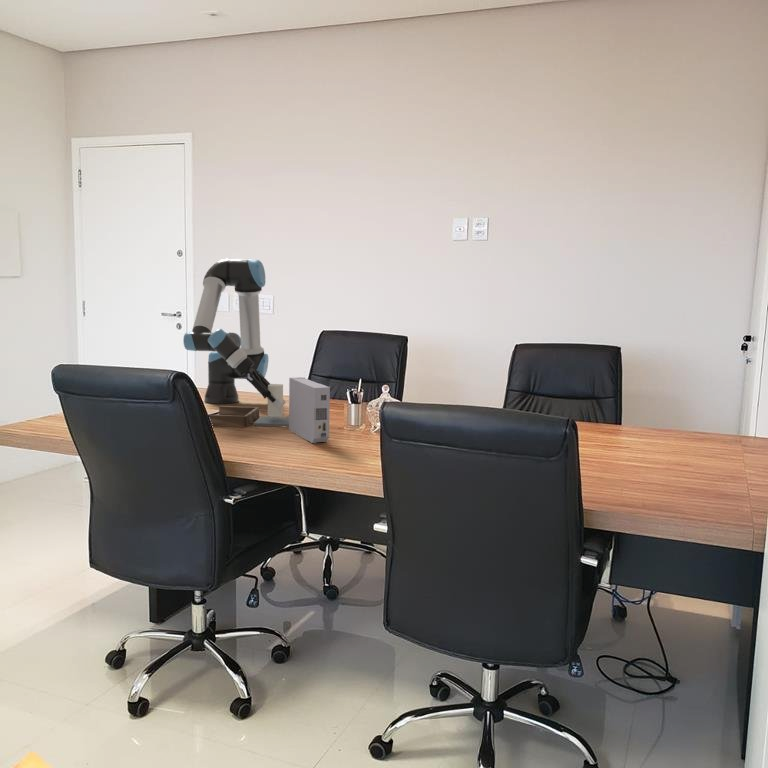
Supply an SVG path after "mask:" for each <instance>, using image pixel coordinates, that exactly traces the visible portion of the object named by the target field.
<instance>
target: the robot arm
mask: <svg viewBox="0 0 768 768" xmlns="http://www.w3.org/2000/svg"><path fill="white" fill-rule="evenodd" d="M265 285H266V271H265V267H264V265H263V263H262V261H261V260H259V259H252V258H224V259H220V260H218V261H216V262H215V263H214V264H212V266H210V267H209V269H208V270H207V272H206V273H205V275H204V277H203V281H202V286H203V288H202V294H201V297H200V300H199V305H198V307H197V312H196V316H195V319H194V323H193V326H192V331H186V332H185V333H184V335H183V347H184V349H185V350H187V351H191V352H194V351H195V352H197V351H198V352H210V353H209V354H208V362H207V364H208V367H207V371H208V372H207V373H208V374H207V375H208V376H207V377H208V382H207V383H208V384H207V389H206V390H205V393H204V402H205V403H207V404H233V403H238V402H239V399H240V397H239V393H238V391H237V388H236V385H235V384H236V383H235V380H246V381H247V382H248V383H250V384H251V385H252V386H253V387H254V388H255V390H256V391H257V392H259V394H260V395H261V396H262V397H263V399H267V401H268V400H269V401H270V402H271V403H272V404H273V405H274V406H275V407H276V408H277V409H280V408H281V407H282V406H284V405H285V404H286V403H287V401H286V400H285V399H284V398H283V404H282V403H281V402H280V401H279V399H278V398H277V397H276V396H275V395H274V394H273V393H271V392H270V391H269V390H268V385H270V384H271V383H270V381H268V379H267V378H265V377H266V375H267V372H268V366H269V354H268V353H265V349H264V348H263V347H262V346H261V326H260V324H261V323H260V303H259V302H260V299H259V294H260V293H261V292H262V291H263V290H262V289H263V287H265ZM227 286H228V287H234V292H235V293H237V295H238V311H239V313H238V314H239V329H240V330H239V331H240V335H239V334H238V333H236V332H226V331H225V330H223V328H217V330H215V331H214V332H212V331H213V327H214V323H215V320H216V319H215V318H216V315H217V312H218V307H219V305H220V300H221V296H222V293H223V292H224V291H225V290H226V287H227ZM270 393H271V394H270Z"/></svg>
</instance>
